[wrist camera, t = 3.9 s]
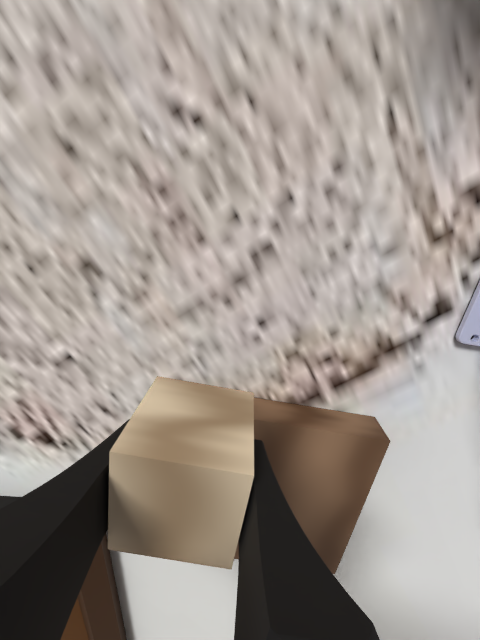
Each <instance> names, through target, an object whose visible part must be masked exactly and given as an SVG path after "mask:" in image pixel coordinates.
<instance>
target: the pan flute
mask: <svg viewBox="0 0 480 640" xmlns="http://www.w3.org/2000/svg"><path fill="white" fill-rule="evenodd" d="M19 498H21V497H10V496H0V509H1V508H3V507H5V506H7V505H9V504H10V503H12V502H14V501H16V500H17V499H19ZM61 640H127V639H126V634H125V628H124V623H123V618H122V613H121V608H120V603H119V597H118V592H117V587H116V582H115V577H114V572H113V567H112V561H111V556H110V551H109V550H108V541H107V536H106V534H105V535H104V537H103V539H102V542H101V544H100V546H99V548H98V550H97V552H96V554H95V557H94V559H93V561H92V564H91V566H90V569H89V571H88V573H87V576H86V578H85V580H84V583H83V585H82V588H81V590H80V592H79V595H78V597H77V600H76V602H75V605H74V607H73V609H72V612H71V614H70V617H69V619H68V622H67V624H66V627H65V629H64V632H63V634H62V637H61Z"/></svg>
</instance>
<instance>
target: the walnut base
mask: <svg viewBox="0 0 480 640" xmlns="http://www.w3.org/2000/svg"><path fill="white" fill-rule="evenodd" d="M254 439H256V440H262V442H263V443H264V446H265V450H266V453H267V456H268V459H269V461H270V464H271V467H272V469H273V472H274V474H275V476H276V479H277V481H278V483H279V486H280V488H281V490H282V492H283V494H284V496H285V498H286V500H287V502H288V504H289V506H290V508H291V510H292V512H293V514H294V516H295V517H296V519H297V521H298V523H299V524H300V526H301V528H302V529H303V531H304V533H305V534H306V536H307V538H308V539H309V541H310V542H311V544H312V545H313V547H314V548H315V550H316V551H317V553H318V554H319V556H320V557H321V558H322V560H323V561H324V563H325V564H326V566H327V567H328V568H329V570H330V571H331V573H332V574H335V572H336V570H337V568H338V565H339V563H340V560H341V558H342V556H343V553H344V551H345V549H346V546H347V544H348V541H349V539H350V537H351V534H352V532H353V529H354V527H355V525H356V522H357V520H358V517H359V515H360V513H361V510H362V508H363V505H364V503H365V501H366V498H367V496H368V493H369V491H370V489H371V486H372V484H373V482H374V479H375V477H376V474H377V472H378V470H379V467H380V465H381V462H382V460H383V458H384V455H385V453H386V450H387V448H388V446H389V443H390V440H389V438H388V437H387V435H386V434H385V432H384V431H383V429H382V427H381V426H380V424H379V423H378V421H377V420H376V418H375V417H371V416H365V415H359V414H353V413H346V412H340V411H334V410H328V409H322V408H315V407H309V406H303V405H297V404H291V403H284V402H278V401H272V400H266V399H260V398H254ZM234 559H239V542H238V544H237V548H236V552H235V556H234Z"/></svg>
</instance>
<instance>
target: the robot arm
mask: <svg viewBox="0 0 480 640" xmlns="http://www.w3.org/2000/svg"><path fill="white" fill-rule="evenodd" d="M473 335H474V338H473V339H471V337H472V336H473ZM455 337H456V340H457V341H459V342H460V343H463V344H468V345H474V346H480V281H479V283H478V286H477V288H476V290H475V292H474V295H473V297H472V299H471V301H470V304H469V306H468V308H467V310H466V313H465V315H464V317H463V319H462V322H461V324H460V326H459V328H458V331H457V333H456V336H455ZM470 339H471V340H470ZM129 420H130V419H129ZM129 420H128V421H127V422H125V423H124V424H123V425H122V426H121V427H120V428H118V429H117V430H116V431H115V432H114V433H113V434H111V435H110V436H109V437H108V438H107V439H105V440H104V441H103V442H102V443H100V444H99V445H98V446H97V447H95V448H94V449H93V450H92V451H90V452H89V453H88V454H87V455H85V456H84V457H83V458H81V459H80V460H78V461H77V462H76V463H74V464H73V465H72V466H70V467H69V468H67V469H66V470H64V471H63V472H62V473H60V474H59V475H57V476H56V477H54V478H53V479H51V480H49V481H48V482H46V483H45V484H43V485H42V486H40V487H38V488H37V489H35V490H33V491H31V492H30V493H28V494H26V495H25V496H23V497H21V498H19V499H17V500H16V501H14V502H12V503H10V504H9V505H7V506H5V507H3V508H1V509H0V640H61V637H62V634H63V632H64V629H65V627H66V624H67V622H68V619H69V617H70V614H71V612H72V609H73V607H74V605H75V602H76V600H77V597H78V595H79V592H80V590H81V588H82V585H83V583H84V580H85V578H86V576H87V573H88V571H89V569H90V566H91V564H92V561H93V559H94V557H95V554H96V552H97V550H98V548H99V546H100V544H101V542H102V539H103V537H104V535H105V534H106V532H107V530H108V502H109V452H110V450H111V448H112V447H113V445H114V444H115V442H116V441H117V439H118V437H119V436H120V434H121V433H122V431H123V430H124V428H125V426H126V425H127V423H128V422H129ZM238 542H239V571H238V589H237V605H236V619H235V634H234V640H380V639H379V637H378V635H377V632H376V630H375V627H374V625H373V623H372V621H371V620H370V619H369V618H368V617H367V616H366V614H365V613H364V612H363V611H362V610H361V609H360V607H359V606H358V605H357V604H356V603H355V602H354V600H353V599H352V598H351V597H350V596H349V595H348V593H347V592H346V591H345V590H344V588H343V587H342V586H341V584H340V583H339V582H338V580H337V579H336V578H335V577H334V575H333V574H332V573H331V571H330V570H329V568H328V567H327V566H326V564H325V563H324V561H323V560H322V558H321V557H320V556H319V554H318V553H317V551H316V550H315V548H314V547H313V545H312V544H311V542H310V541H309V539H308V538H307V536H306V534H305V533H304V531H303V529H302V528H301V526H300V524H299V523H298V521H297V519H296V517H295V516H294V514H293V512H292V510H291V508H290V506H289V504H288V502H287V500H286V498H285V496H284V494H283V492H282V490H281V488H280V486H279V483H278V481H277V479H276V476H275V474H274V472H273V469H272V467H271V464H270V461H269V459H268V456H267V453H266V450H265V446H264V443H263V442H262V440H256V439H254V478H253V483H252V487H251V491H250V495H249V499H248V503H247V507H246V511H245V515H244V520H243V524H242V528H241V532H240V536H239V540H238Z"/></svg>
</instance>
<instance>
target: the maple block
mask: <svg viewBox="0 0 480 640" xmlns="http://www.w3.org/2000/svg"><path fill="white" fill-rule="evenodd" d="M253 478H254V393H252V392H246V391H240V390H234V389H228V388H223V387H217V386H211V385H205V384H199V383H193V382H187V381H181V380H176V379H170V378H164V377H158V376H157V377H156V379H155V381H154V382H153V384H152V385H151V387H150V389H149V390H148V392H147V393H146V395H145V396H144V398H143V400H142V401H141V403H140V404H139V406H138V407H137V409H136V411H135V412H134V414H133V415H132V417H131V418H130V420H129V422H128V423H127V425H126V426H125V428H124V430H123V431H122V433H121V434H120V436H119V437H118V439H117V441H116V442H115V444H114V445H113V447H112V448H111V450H110V452H109V502H108V550H114V551H120V552H127V553H133V554H139V555H145V556H151V557H158V558H164V559H170V560H176V561H182V562H189V563H195V564H201V565H207V566H213V567H220V568H226V569H232V565H233V561H234V556H235V552H236V548H237V544H238V540H239V536H240V532H241V528H242V524H243V520H244V515H245V511H246V507H247V503H248V499H249V495H250V491H251V487H252V483H253Z"/></svg>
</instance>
